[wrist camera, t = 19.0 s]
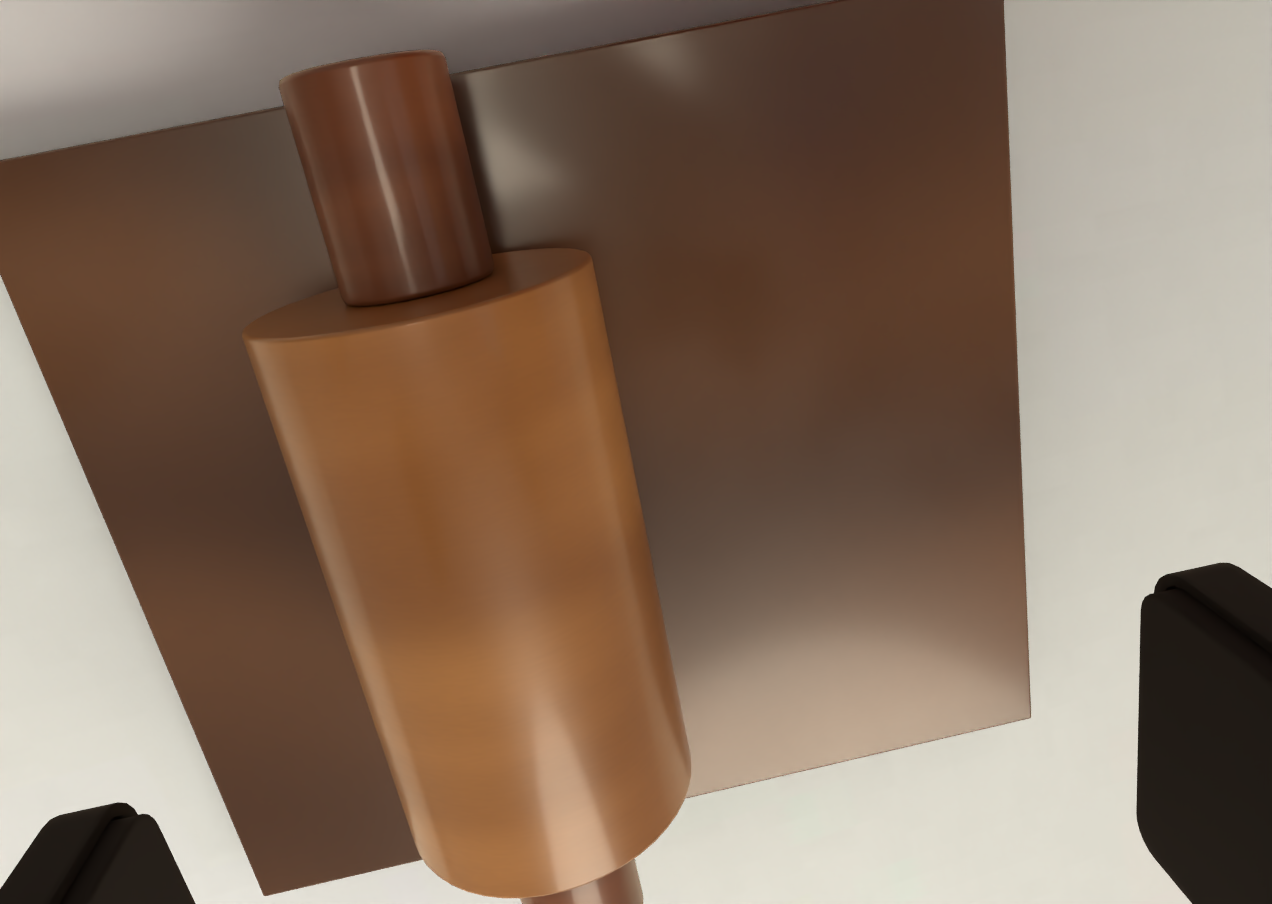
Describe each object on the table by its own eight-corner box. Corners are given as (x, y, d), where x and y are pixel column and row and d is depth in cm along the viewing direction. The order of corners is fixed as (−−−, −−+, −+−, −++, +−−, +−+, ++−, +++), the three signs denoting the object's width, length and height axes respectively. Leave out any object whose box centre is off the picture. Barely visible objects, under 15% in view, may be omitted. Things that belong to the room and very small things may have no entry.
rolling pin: (387, 80, 15) (89, 116, 12) (621, 16, 12) (315, 38, 9) (570, 787, 21) (400, 961, 17) (766, 862, 18) (611, 1093, 14)
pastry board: (-18, 167, 15) (-47, 168, 14) (981, -25, 16) (1003, -32, 15) (272, 869, 20) (263, 897, 19) (1013, 697, 21) (1032, 718, 20)
